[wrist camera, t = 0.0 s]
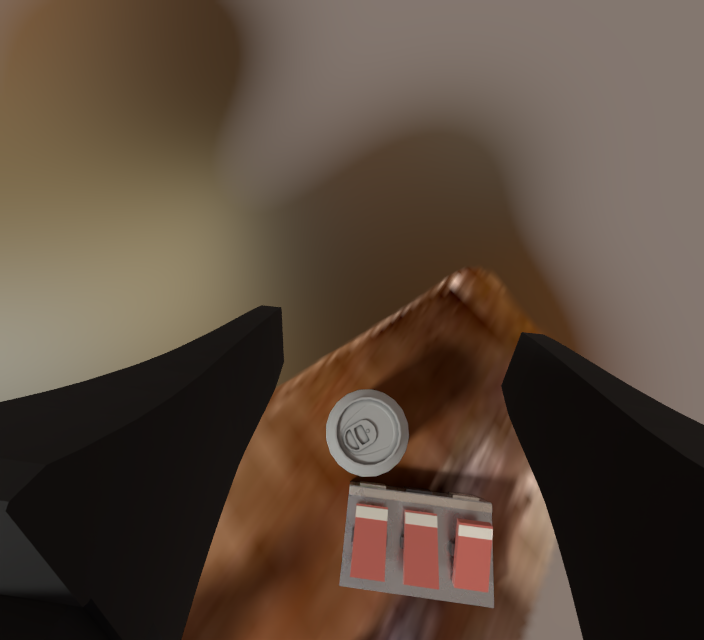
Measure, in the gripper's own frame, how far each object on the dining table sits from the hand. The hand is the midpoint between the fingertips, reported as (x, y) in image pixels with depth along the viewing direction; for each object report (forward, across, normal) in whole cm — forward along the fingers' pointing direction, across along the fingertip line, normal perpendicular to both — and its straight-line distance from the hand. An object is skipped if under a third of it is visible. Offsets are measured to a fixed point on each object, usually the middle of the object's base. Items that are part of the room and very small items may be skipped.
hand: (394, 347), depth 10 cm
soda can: (+20, 0, +26) cm, 33 cm away
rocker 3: (+9, -12, +29) cm, 32 cm away
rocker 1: (+9, -2, +29) cm, 30 cm away
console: (+12, -6, +32) cm, 35 cm away
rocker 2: (+9, -6, +29) cm, 31 cm away
